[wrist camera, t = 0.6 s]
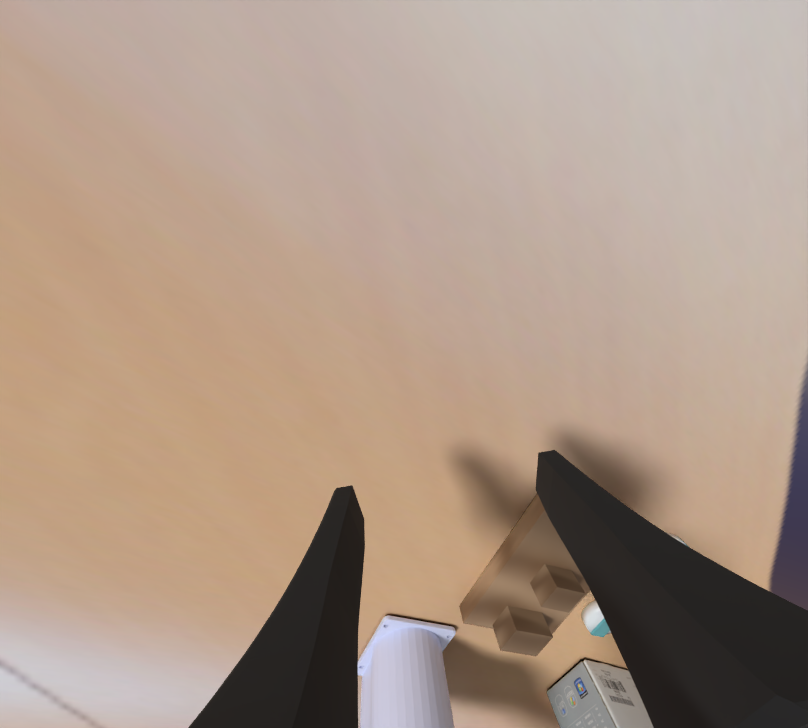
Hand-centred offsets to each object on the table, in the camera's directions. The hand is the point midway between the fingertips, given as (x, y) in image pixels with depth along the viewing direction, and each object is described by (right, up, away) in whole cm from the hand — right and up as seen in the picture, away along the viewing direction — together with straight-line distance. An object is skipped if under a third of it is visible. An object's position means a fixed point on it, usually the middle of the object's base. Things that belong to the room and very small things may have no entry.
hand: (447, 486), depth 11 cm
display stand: (+12, -14, +17) cm, 25 cm away
